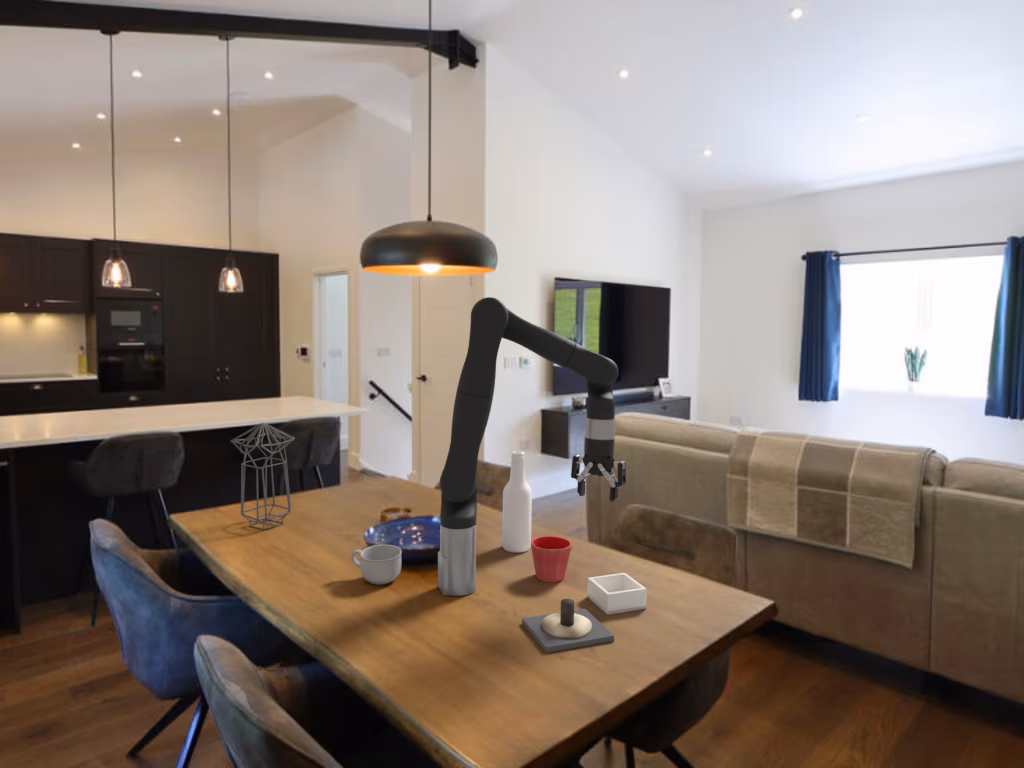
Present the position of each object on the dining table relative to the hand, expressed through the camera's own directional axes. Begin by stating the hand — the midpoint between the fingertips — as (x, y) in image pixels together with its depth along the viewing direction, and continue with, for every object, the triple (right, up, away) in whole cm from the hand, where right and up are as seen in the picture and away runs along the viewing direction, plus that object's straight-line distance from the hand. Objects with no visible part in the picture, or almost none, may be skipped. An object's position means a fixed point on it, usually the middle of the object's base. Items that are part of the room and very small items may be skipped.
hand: (597, 498), depth 163 cm
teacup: (-58, -23, +7) cm, 63 cm away
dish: (+4, -25, -6) cm, 26 cm away
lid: (-10, -25, -21) cm, 34 cm away
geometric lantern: (-105, -19, +50) cm, 118 cm away
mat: (-10, -26, -21) cm, 35 cm away
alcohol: (-20, -21, +32) cm, 44 cm away
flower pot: (-11, -24, +10) cm, 28 cm away
